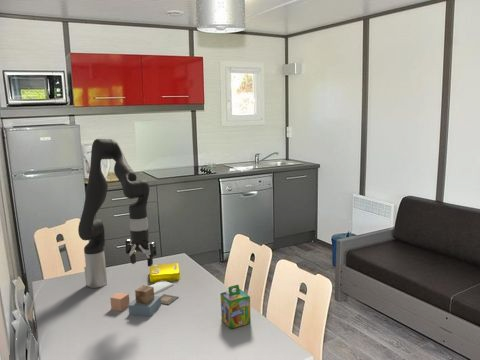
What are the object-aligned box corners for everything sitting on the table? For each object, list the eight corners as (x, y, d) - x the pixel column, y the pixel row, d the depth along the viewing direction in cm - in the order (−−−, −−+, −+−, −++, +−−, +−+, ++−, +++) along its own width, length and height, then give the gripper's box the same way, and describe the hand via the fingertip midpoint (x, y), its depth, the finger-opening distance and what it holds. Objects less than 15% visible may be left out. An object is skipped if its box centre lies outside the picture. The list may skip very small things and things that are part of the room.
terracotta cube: (111, 309, 181) (110, 297, 180) (119, 303, 186) (118, 292, 185) (121, 311, 179) (120, 299, 178) (129, 305, 184) (128, 294, 183)
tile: (153, 302, 186) (153, 301, 186) (163, 294, 193) (163, 293, 193) (168, 305, 183) (168, 304, 183) (178, 297, 190) (178, 296, 190)
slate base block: (129, 315, 176) (128, 305, 175) (140, 304, 185) (139, 294, 185) (150, 317, 173) (150, 307, 173) (161, 306, 183) (160, 296, 182)
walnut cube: (136, 302, 177) (135, 290, 176) (144, 297, 182) (143, 285, 181) (146, 304, 175) (145, 292, 174) (154, 299, 180) (153, 287, 179)
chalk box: (230, 329, 160) (229, 293, 158) (220, 319, 168) (219, 285, 166) (251, 323, 164) (250, 288, 162) (241, 314, 172) (239, 280, 170)
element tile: (180, 280, 210) (179, 271, 209) (149, 284, 208) (149, 274, 207) (178, 269, 225) (178, 261, 224) (150, 272, 222) (149, 264, 221)
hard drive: (153, 292, 194) (173, 283, 203) (142, 288, 199) (161, 279, 208) (154, 295, 194) (173, 286, 204) (142, 292, 199) (161, 282, 209)
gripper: (119, 228, 174) (122, 265, 176) (147, 231, 168) (150, 270, 170) (131, 224, 180) (134, 259, 183) (158, 226, 175) (160, 263, 177)
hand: (141, 264), depth 177 cm, fingers open, 8 cm apart
